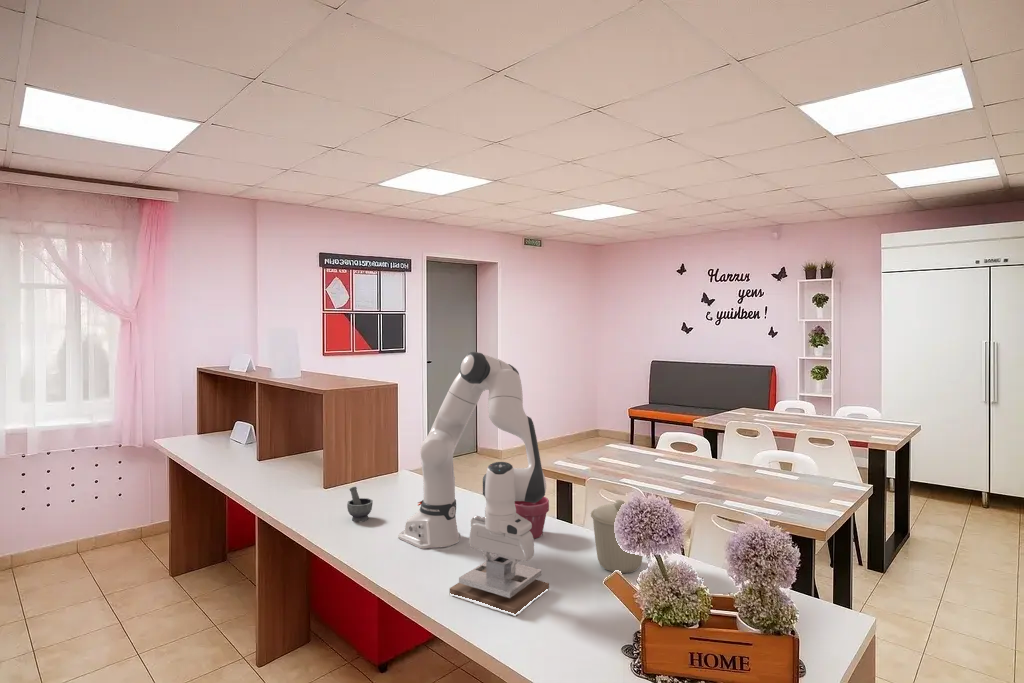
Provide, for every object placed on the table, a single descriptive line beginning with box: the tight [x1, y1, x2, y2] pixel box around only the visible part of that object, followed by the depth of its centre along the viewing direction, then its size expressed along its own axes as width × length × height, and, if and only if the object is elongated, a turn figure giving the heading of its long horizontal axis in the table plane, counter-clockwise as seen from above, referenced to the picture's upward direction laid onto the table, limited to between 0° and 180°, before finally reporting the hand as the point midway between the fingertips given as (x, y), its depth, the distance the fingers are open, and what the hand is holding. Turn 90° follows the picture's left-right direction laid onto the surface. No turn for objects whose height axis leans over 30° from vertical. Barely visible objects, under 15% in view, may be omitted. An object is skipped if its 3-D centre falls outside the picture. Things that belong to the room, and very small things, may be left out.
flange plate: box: [458, 554, 543, 598], centre depth 162 cm, size 17×17×6 cm
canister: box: [590, 499, 644, 574], centre depth 179 cm, size 18×18×21 cm
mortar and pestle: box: [346, 486, 374, 523], centre depth 224 cm, size 11×9×12 cm
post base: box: [449, 561, 550, 614], centre depth 162 cm, size 22×18×8 cm
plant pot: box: [515, 496, 550, 540], centre depth 207 cm, size 14×14×13 cm
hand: (500, 568), depth 162 cm, fingers closed on flange plate, 6 cm apart
